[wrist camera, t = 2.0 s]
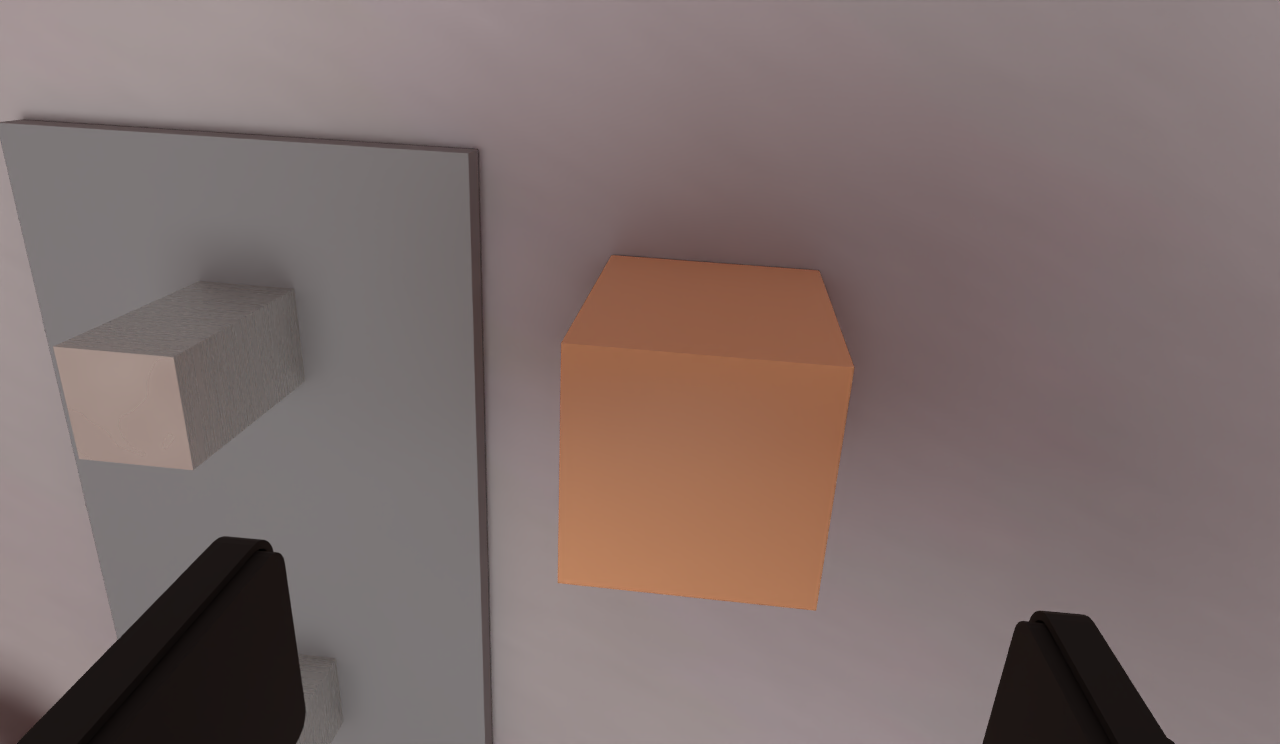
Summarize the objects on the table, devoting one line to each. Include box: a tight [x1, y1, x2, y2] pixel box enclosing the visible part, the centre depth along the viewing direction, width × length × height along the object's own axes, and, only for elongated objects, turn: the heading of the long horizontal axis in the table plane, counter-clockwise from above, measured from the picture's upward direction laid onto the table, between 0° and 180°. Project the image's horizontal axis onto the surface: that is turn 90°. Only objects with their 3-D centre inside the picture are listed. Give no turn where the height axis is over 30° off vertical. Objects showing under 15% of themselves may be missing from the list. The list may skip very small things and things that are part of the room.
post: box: [53, 281, 305, 470], centre depth 20 cm, size 3×3×5 cm
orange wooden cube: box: [558, 255, 854, 610], centre depth 19 cm, size 5×5×7 cm
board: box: [0, 120, 492, 744], centre depth 25 cm, size 12×22×1 cm, turn 177°
